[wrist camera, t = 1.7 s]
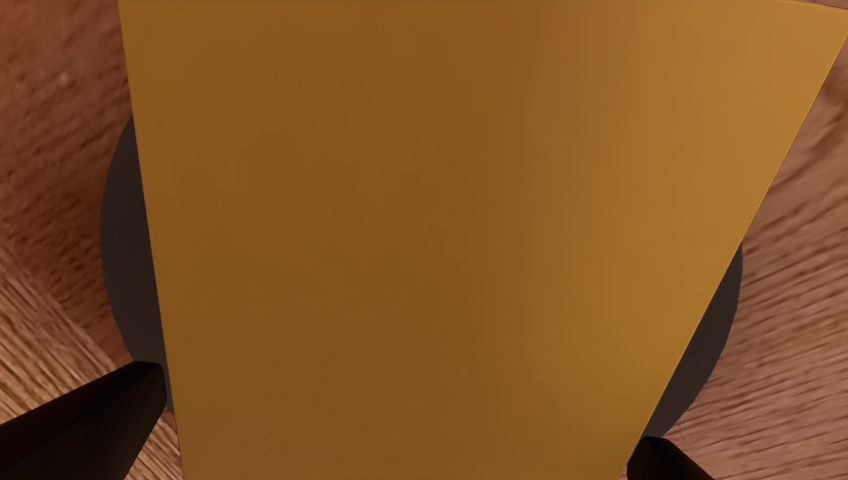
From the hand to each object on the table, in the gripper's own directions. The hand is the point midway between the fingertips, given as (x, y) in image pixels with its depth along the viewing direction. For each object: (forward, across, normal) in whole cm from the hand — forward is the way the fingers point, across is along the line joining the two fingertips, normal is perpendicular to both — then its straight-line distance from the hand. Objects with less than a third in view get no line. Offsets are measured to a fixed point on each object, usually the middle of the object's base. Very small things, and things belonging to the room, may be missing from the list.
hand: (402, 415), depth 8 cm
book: (+2, 0, 0) cm, 2 cm away
